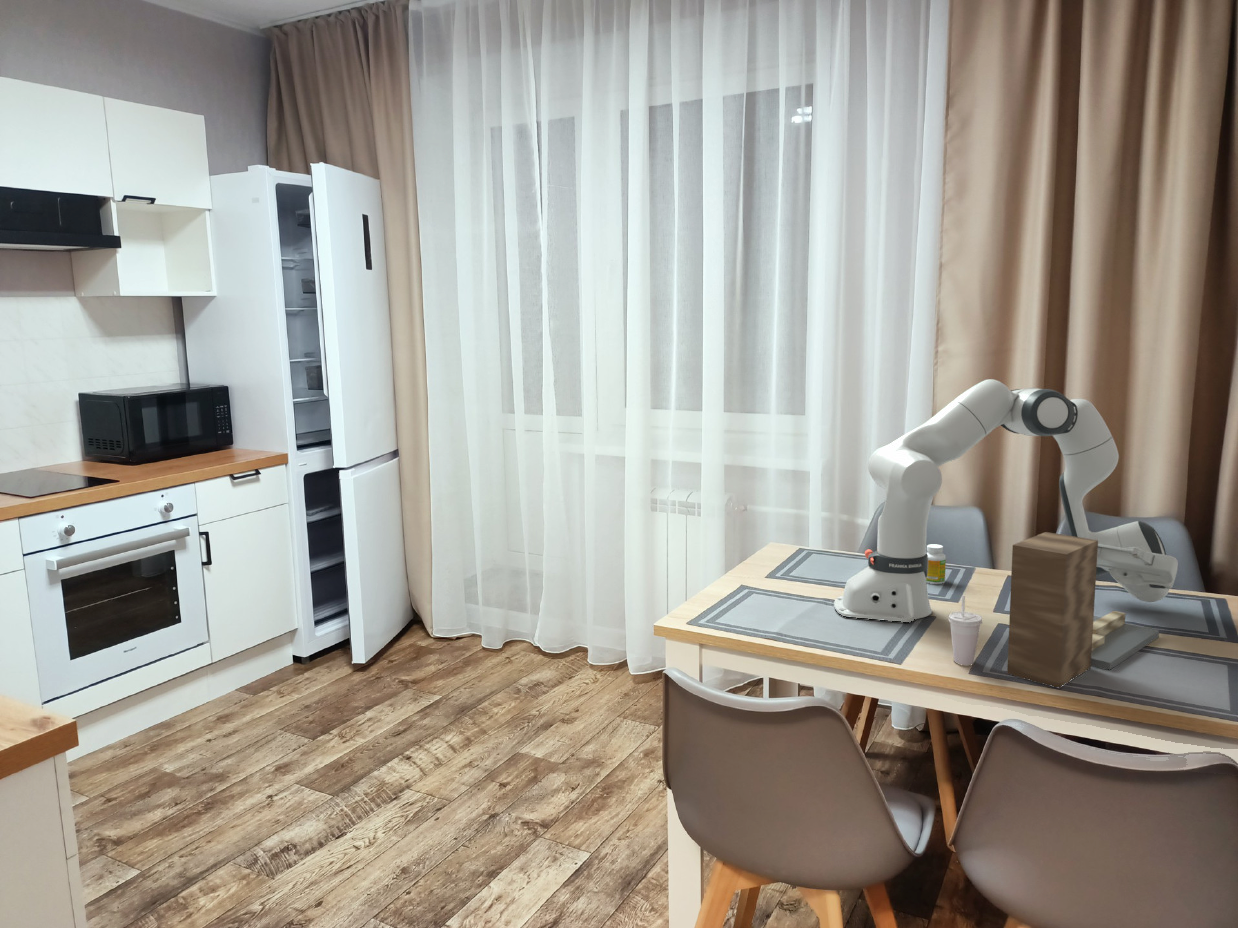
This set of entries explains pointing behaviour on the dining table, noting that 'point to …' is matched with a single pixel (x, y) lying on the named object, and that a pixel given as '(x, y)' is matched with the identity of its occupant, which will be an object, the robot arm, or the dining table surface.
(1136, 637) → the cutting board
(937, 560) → the supplement bottle
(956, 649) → the smoothie
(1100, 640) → the stepped light wood bar
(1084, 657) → the walnut stand
